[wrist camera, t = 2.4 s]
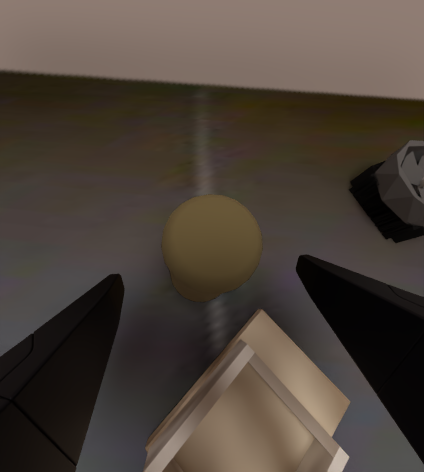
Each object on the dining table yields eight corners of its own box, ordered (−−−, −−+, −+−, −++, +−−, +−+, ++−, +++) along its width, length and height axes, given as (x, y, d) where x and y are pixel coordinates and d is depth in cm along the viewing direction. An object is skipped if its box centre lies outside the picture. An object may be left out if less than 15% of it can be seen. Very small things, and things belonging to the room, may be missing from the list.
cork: (198, 316, 17) (214, 340, 7) (157, 268, 18) (116, 225, 8) (242, 271, 19) (307, 237, 9) (202, 230, 20) (218, 154, 10)
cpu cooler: (451, 236, 17) (379, 151, 19) (387, 252, 22) (337, 183, 25) (511, 200, 19) (439, 128, 22) (440, 222, 25) (390, 162, 27)
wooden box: (243, 570, 12) (282, 764, 7) (147, 438, 14) (124, 519, 9) (341, 396, 16) (411, 439, 11) (258, 308, 18) (286, 312, 13)
